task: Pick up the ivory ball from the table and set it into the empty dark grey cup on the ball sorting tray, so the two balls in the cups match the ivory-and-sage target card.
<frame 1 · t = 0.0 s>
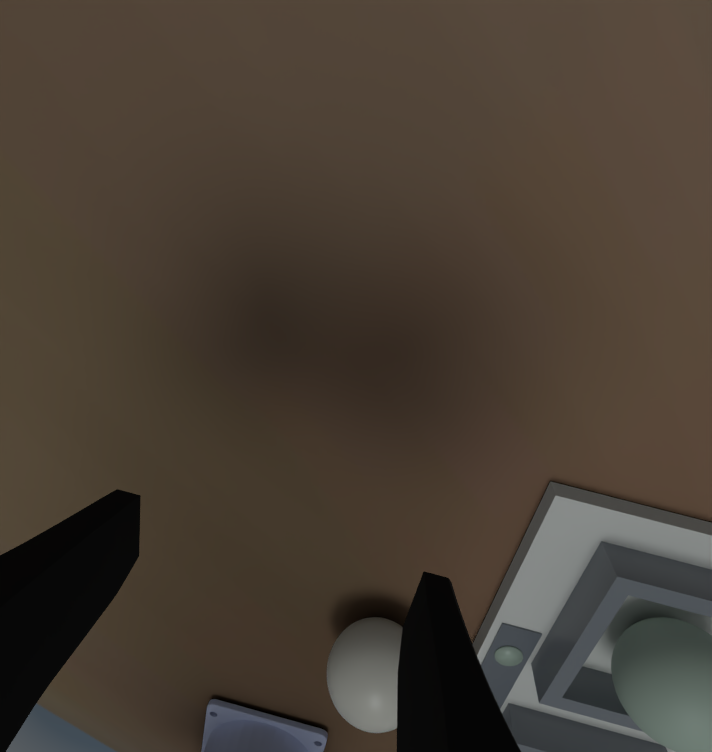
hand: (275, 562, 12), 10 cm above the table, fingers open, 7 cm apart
ball sorting tray: (593, 686, 26), on the table
ivory ball: (375, 671, 25), point 2 cm above the table
sage ball: (677, 682, 21), point 3 cm above the table, touching ball sorting tray
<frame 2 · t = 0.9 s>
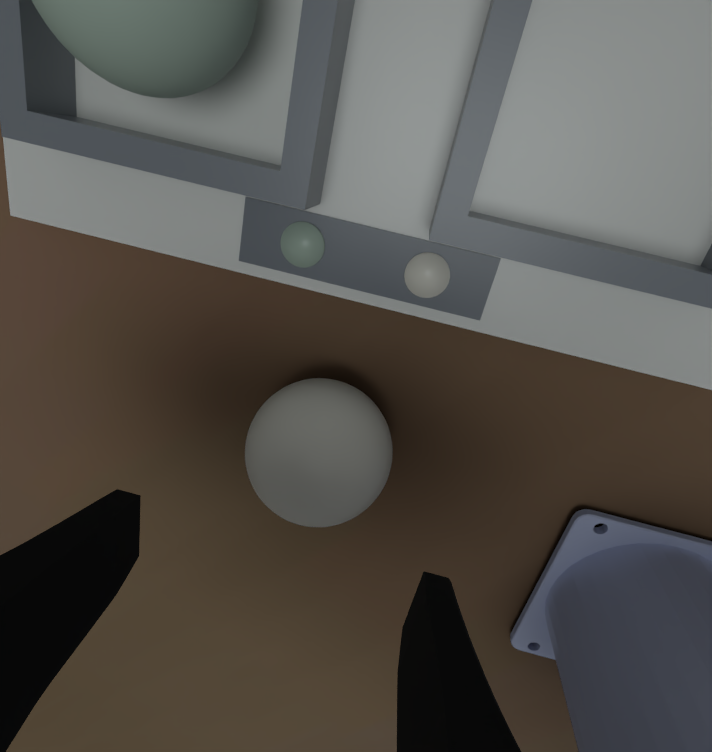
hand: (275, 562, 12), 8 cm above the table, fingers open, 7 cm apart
ball sorting tray: (412, 58, 14), on the table
ivory ball: (319, 450, 17), point 2 cm above the table
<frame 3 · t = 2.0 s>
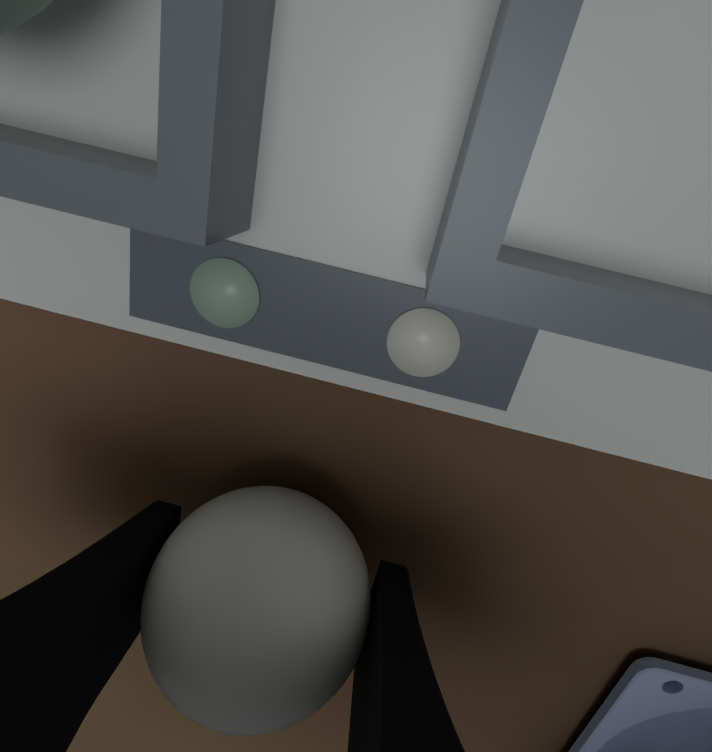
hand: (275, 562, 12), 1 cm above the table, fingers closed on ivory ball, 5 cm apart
ivory ball: (261, 598, 11), point 2 cm above the table, touching gripper
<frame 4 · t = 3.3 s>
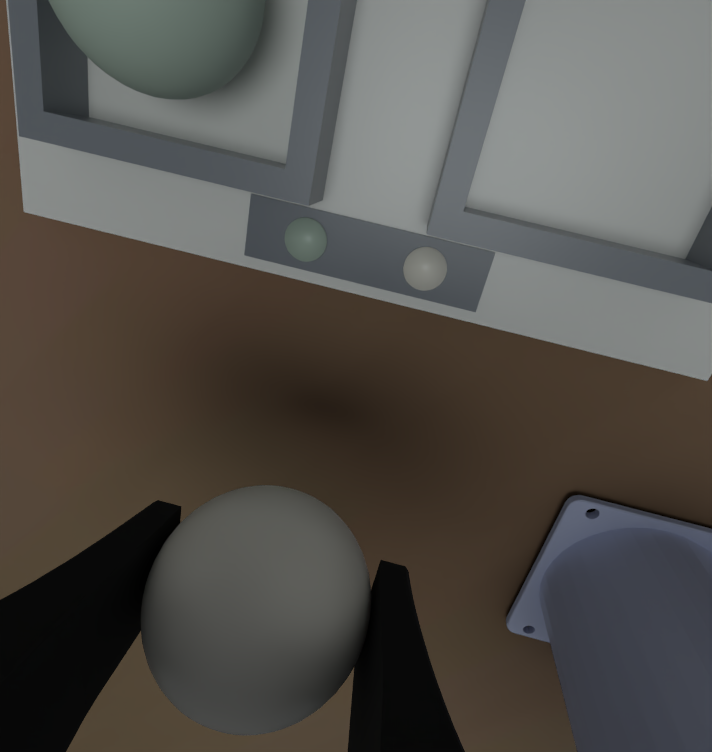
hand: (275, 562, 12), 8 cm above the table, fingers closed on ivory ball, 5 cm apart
ball sorting tray: (410, 61, 14), on the table
ivory ball: (261, 598, 11), point 9 cm above the table, touching gripper
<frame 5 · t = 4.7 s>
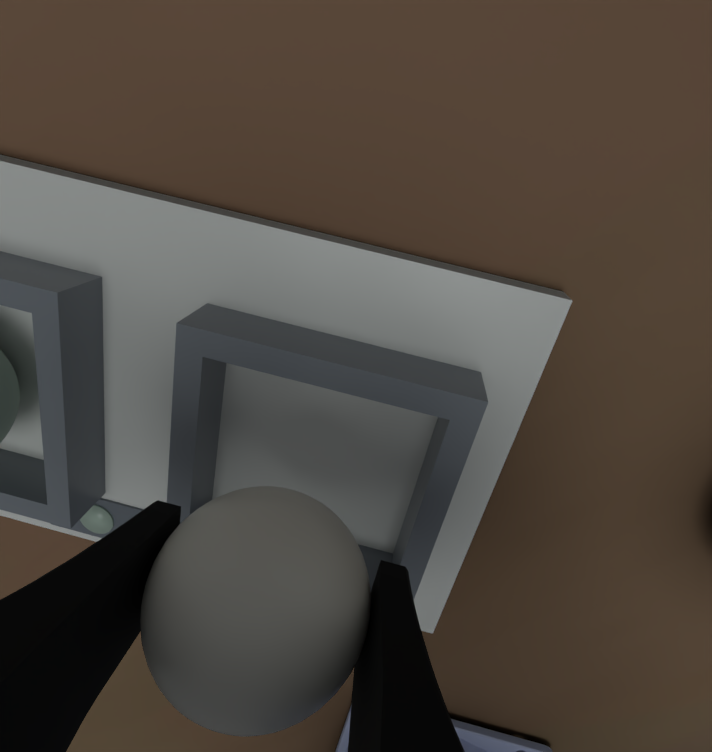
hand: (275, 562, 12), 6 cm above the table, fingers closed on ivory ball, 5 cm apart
ball sorting tray: (164, 396, 18), on the table
ivory ball: (260, 599, 11), point 7 cm above the table, touching gripper
when the fingers open (4 cm above the table, at t = 5.6 s): ivory ball drops 1 cm, resting on ball sorting tray.
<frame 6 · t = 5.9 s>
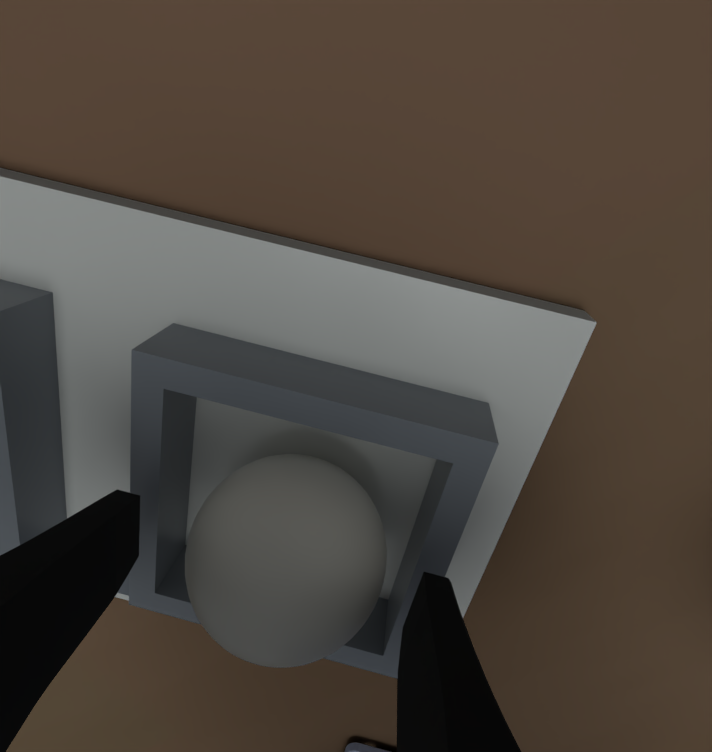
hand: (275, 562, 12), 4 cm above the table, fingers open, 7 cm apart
ball sorting tray: (131, 423, 16), on the table
ivory ball: (288, 553, 12), point 3 cm above the table, tilted 7°, touching ball sorting tray
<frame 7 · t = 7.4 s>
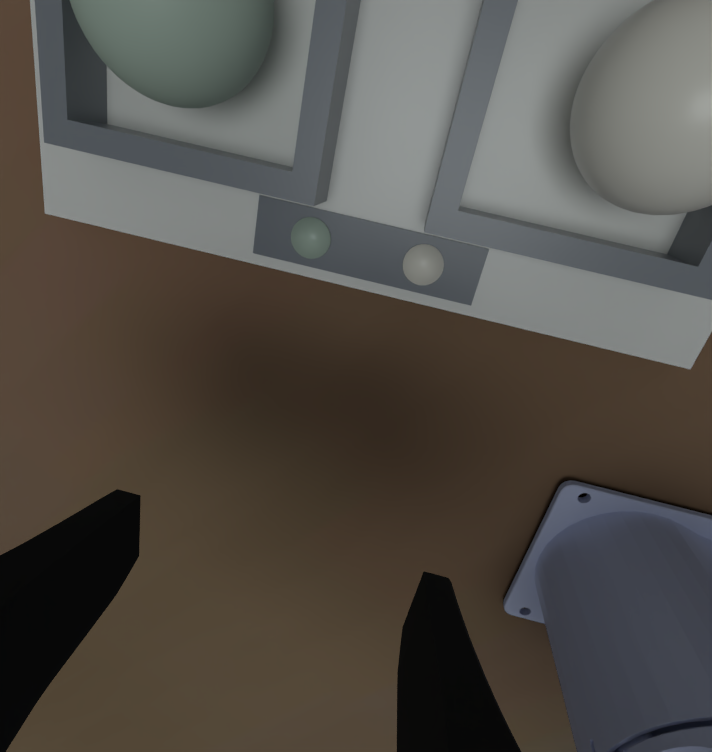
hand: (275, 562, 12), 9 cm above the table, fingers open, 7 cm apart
ball sorting tray: (408, 70, 15), on the table
ivory ball: (680, 108, 12), point 3 cm above the table, tilted 25°, touching ball sorting tray
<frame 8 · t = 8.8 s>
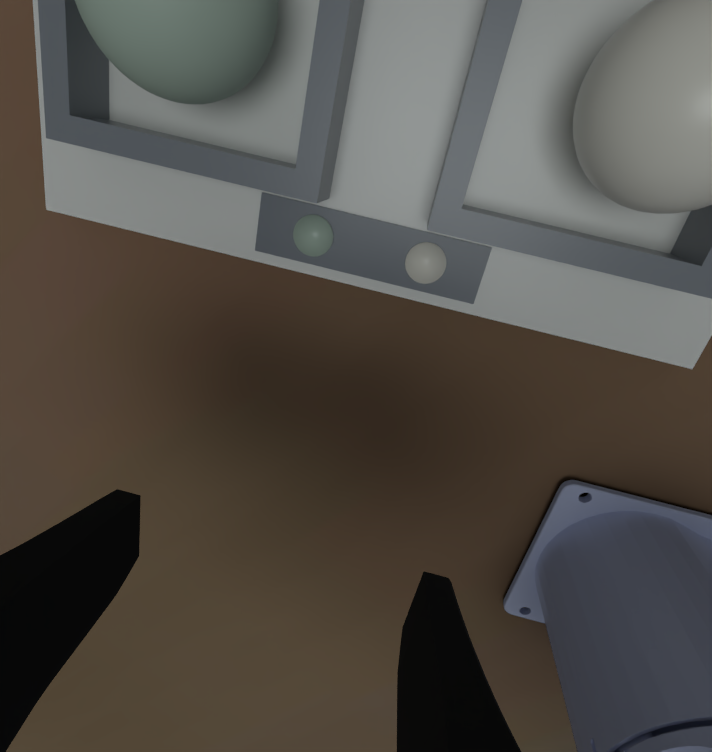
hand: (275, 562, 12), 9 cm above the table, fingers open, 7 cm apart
ball sorting tray: (411, 68, 15), on the table
ivory ball: (684, 106, 12), point 3 cm above the table, tilted 24°, touching ball sorting tray
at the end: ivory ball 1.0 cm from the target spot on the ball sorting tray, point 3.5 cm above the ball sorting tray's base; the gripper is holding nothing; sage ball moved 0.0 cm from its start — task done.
